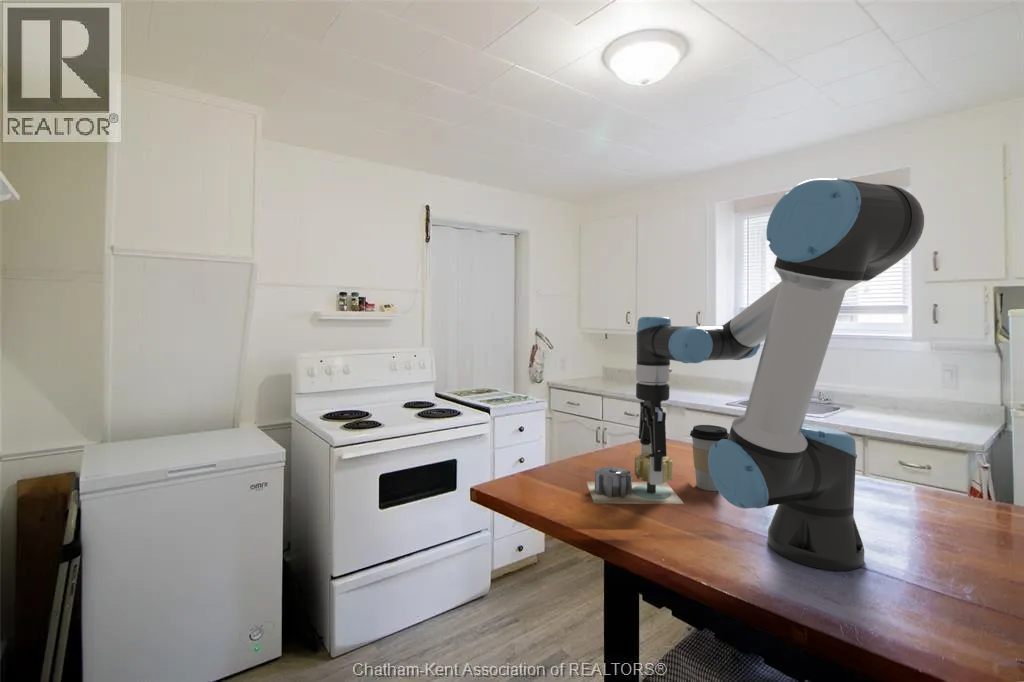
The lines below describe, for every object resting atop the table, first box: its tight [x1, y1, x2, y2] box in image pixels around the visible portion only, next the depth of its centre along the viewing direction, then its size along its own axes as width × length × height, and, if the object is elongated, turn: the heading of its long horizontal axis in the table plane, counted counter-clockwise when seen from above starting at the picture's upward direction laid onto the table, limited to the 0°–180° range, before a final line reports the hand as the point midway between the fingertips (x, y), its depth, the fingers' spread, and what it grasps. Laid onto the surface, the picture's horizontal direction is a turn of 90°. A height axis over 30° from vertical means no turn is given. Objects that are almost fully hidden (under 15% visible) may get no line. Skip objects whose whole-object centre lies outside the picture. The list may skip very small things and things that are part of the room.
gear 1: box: [594, 466, 633, 497], centre depth 116 cm, size 8×8×5 cm
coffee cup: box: [689, 424, 730, 492], centre depth 123 cm, size 9×9×15 cm
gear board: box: [586, 469, 685, 505], centre depth 116 cm, size 14×20×7 cm
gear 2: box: [634, 453, 674, 484], centre depth 116 cm, size 8×8×5 cm
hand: (651, 477), depth 116 cm, fingers closed on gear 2, 8 cm apart
